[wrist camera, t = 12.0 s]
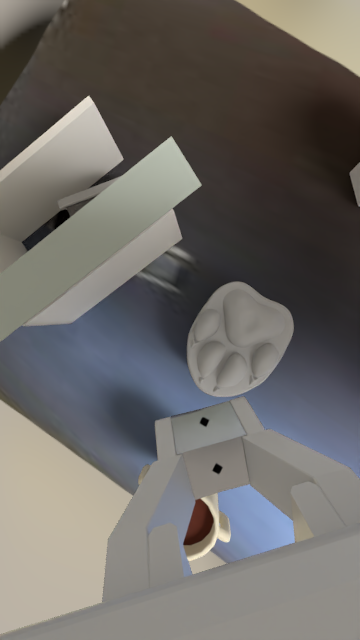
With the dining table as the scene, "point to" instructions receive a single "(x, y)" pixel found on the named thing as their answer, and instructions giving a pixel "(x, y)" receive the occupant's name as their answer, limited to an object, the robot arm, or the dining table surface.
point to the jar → (356, 181)
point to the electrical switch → (82, 197)
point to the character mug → (202, 525)
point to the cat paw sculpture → (237, 340)
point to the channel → (41, 205)
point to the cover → (94, 234)
